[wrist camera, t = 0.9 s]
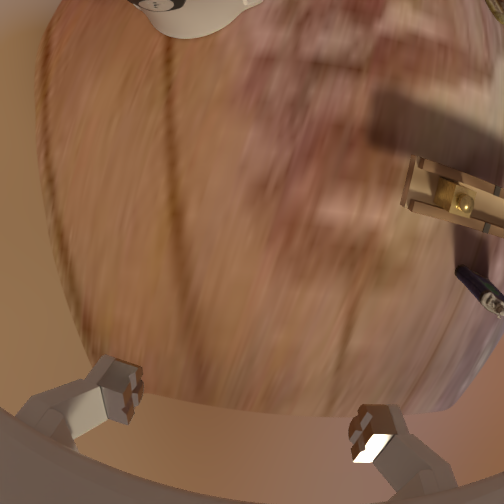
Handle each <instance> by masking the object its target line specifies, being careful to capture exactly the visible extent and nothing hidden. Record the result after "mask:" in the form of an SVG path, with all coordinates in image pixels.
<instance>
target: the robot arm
mask: <svg viewBox="0 0 504 504" xmlns="http://www.w3.org/2000/svg"><path fill="white" fill-rule="evenodd" d="M128 1H129V2H131V3H133V5H134V6H135V7H136V8H138V9H139V10H141V11H143V12H144V13H145V14H146V16H147V17H148V19H149V20H150V22H151V23H152V25H153V26H154V27H155V28H156V29H157V30H158V31H160V32H161V33H163V34H165V35H167V36H170V37H174V38H180V39H191V38H198V37H203V36H206V35H209V34H212V33H214V32H216V31H218V30H220V29H222V28H224V27H225V26H227V25H228V24H229V23H231V22H232V21H233V20H234V19H235V18H236V17H237V16H238V15H239V14H240V13H241V12H243V11H244V10H246V9H248V8H251V7H253V6H255V5H258V4H260V3H261V2H262V1H263V0H128ZM142 375H143V369H142V367H141V366H138V365H135V364H132V363H129V362H127V361H124V360H121V359H118V358H115V357H112V356H109V355H106V354H105V355H103V356H102V357H101V358H100V360H99V361H98V362H97V363H96V365H95V366H94V367H93V369H92V370H91V371H90V373H89V374H88V375H87V377H86V378H85V379H84V380H83V379H79V380H76V381H73V382H70V383H68V384H65V385H62V386H59V387H57V388H54V389H51V390H48V391H45V392H42V393H39V394H36V395H33V396H31V397H30V398H29V400H28V401H27V402H26V403H25V405H24V406H23V407H22V408H21V410H20V411H19V412H18V413H17V414H16V416H15V417H14V416H13V415H11V414H10V413H8V412H7V411H5V410H4V409H3V408H1V407H0V504H265V503H254V502H246V501H239V500H232V499H226V498H220V497H215V496H210V495H205V494H200V493H195V492H191V491H187V490H183V489H179V488H175V487H171V486H167V485H164V484H160V483H157V482H154V481H151V480H147V479H144V478H141V477H138V476H135V475H132V474H130V473H127V472H124V471H121V470H119V469H116V468H113V467H111V466H108V465H106V464H103V463H101V462H99V461H96V460H94V459H92V458H89V457H87V456H85V455H83V454H81V453H79V451H78V448H77V447H76V445H75V442H74V439H75V438H77V437H78V436H81V435H82V434H84V433H86V432H87V431H89V430H91V429H92V428H94V427H96V426H98V425H99V424H101V423H103V422H105V421H106V420H107V418H108V419H111V420H114V421H116V422H120V423H122V424H125V425H129V423H130V421H131V419H132V417H133V415H134V413H135V412H134V407H135V406H138V405H139V403H140V401H141V399H142V396H143V391H144V382H143V381H142V380H141V377H142ZM348 431H349V432H348V436H349V440H350V441H351V442H352V443H353V444H354V445H353V446H352V448H351V453H352V459H353V462H373V464H374V466H375V467H376V468H377V469H378V470H379V472H380V473H381V474H382V475H383V476H384V478H385V479H386V480H387V481H388V483H390V485H391V486H392V487H393V489H394V490H395V491H396V492H397V493H396V494H395V495H394V496H392V497H391V498H390V499H389V500H388V501H387V502H380V503H371V504H504V472H501V473H499V474H496V475H493V476H491V477H488V478H485V479H482V480H479V481H476V482H473V483H470V484H467V485H464V486H460V487H458V485H457V482H456V480H455V477H454V474H453V471H452V469H451V466H450V464H449V463H447V462H446V461H445V460H444V459H442V458H441V457H440V456H439V455H438V454H436V453H435V452H434V451H433V450H431V449H430V448H429V447H428V446H427V445H425V444H424V443H423V442H422V441H420V440H419V439H418V438H417V437H416V436H414V435H413V434H409V431H408V428H407V426H406V423H405V420H404V418H403V415H402V412H401V409H400V407H399V406H398V405H397V404H392V405H391V404H386V405H385V404H362V405H361V406H360V407H359V409H358V415H357V416H356V417H354V418H353V419H352V421H351V423H350V426H349V430H348Z"/></svg>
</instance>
